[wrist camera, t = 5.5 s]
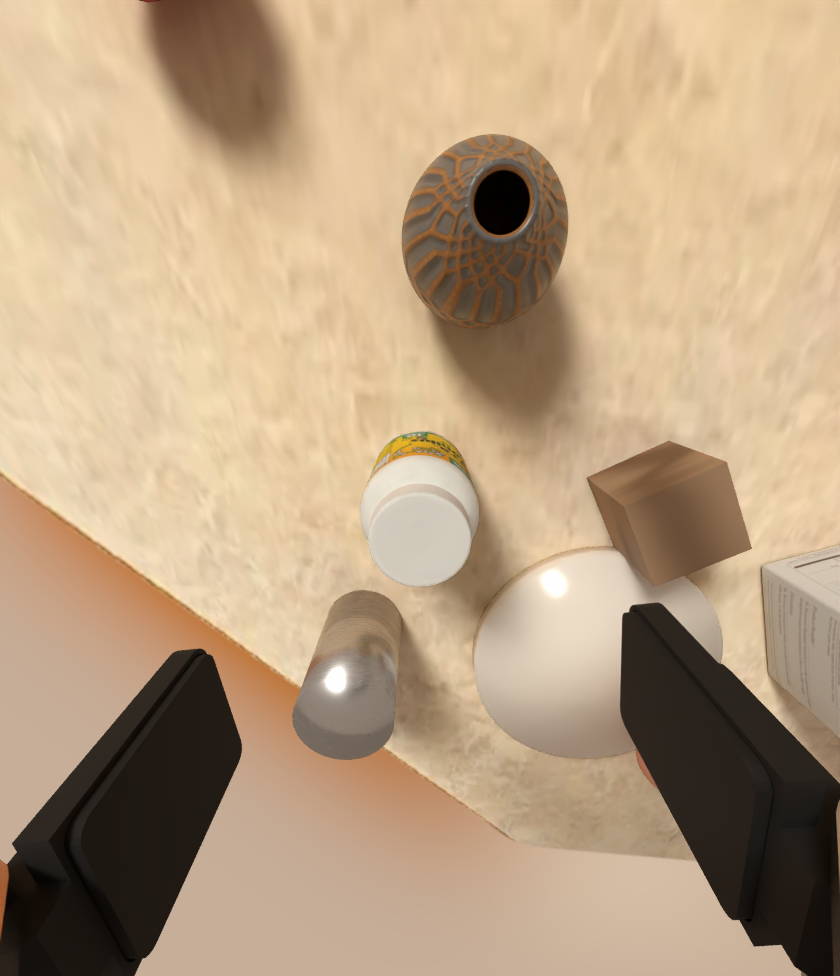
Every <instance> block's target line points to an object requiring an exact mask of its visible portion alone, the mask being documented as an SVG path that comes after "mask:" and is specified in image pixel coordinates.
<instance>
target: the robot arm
mask: <svg viewBox="0 0 840 976" xmlns="http://www.w3.org/2000/svg"><path fill="white" fill-rule="evenodd" d="M620 712H621V717H622V720H623V723H624V726H625V728H626V730H627V731H628V733H629V735H630V737H631V739H632V741H633V743H634V745H635V746H636V748H637V750H638V752H639V754H640V756H641V758H642V759H643V761H644V763H645V765H646V767H647V769H648V771H649V772H650V774H651V776H652V778H653V780H654V782H655V784H656V785H657V787H658V789H659V791H660V793H661V795H662V797H663V798H664V800H665V802H666V804H667V806H668V808H669V810H670V812H671V813H672V815H673V817H674V819H675V821H676V823H677V825H678V826H679V828H680V830H681V832H682V834H683V836H684V838H685V839H686V841H687V843H688V845H689V847H690V849H691V851H692V852H693V854H694V856H695V858H696V860H697V862H698V864H699V866H700V867H701V869H702V871H703V873H704V875H705V876H706V879H707V880H708V882H709V884H710V886H711V888H712V890H713V892H714V893H715V895H716V897H717V899H718V901H719V903H720V905H721V906H722V908H723V910H724V911H725V913H726V914H727V915H728V917H729V918H731V919H732V920H740V922H741V924H742V926H743V927H744V929H745V931H746V933H747V934H748V936H749V938H750V940H751V942H752V943H753V945H754V946H767V945H782V946H783V948H784V950H785V951H786V953H787V955H788V956H789V958H790V960H791V961H792V963H793V965H794V966H795V967H796V968H798V969H799V970H800V971H801V976H840V784H839V783H838V782H837V781H836V780H835V778H834V777H833V776H832V775H831V774H830V773H829V772H828V771H827V770H826V769H825V768H824V767H823V766H822V765H821V764H820V763H819V762H818V761H817V760H816V759H815V758H814V757H813V756H812V755H811V754H810V753H809V752H808V750H807V749H806V748H805V747H804V746H803V745H802V744H801V743H800V742H799V741H798V740H797V739H796V738H795V737H794V736H793V735H792V734H791V733H790V732H789V731H788V730H787V729H786V728H785V727H784V726H783V725H782V724H781V723H780V721H779V720H778V719H777V718H776V717H775V716H774V715H773V714H772V713H771V712H770V711H769V710H768V709H767V708H766V707H765V706H764V705H763V704H762V703H761V702H760V701H759V700H758V699H757V698H756V697H755V696H754V695H753V694H752V692H751V691H750V690H749V689H748V688H747V687H746V686H745V685H744V684H743V683H742V682H741V681H740V680H739V679H738V678H737V677H736V676H735V675H734V674H733V673H732V672H731V671H730V670H729V669H728V668H727V667H725V666H724V665H723V664H720V663H718V662H717V661H716V660H715V659H714V658H713V657H712V656H711V655H710V654H709V653H708V652H707V650H706V649H705V648H704V647H703V646H702V645H701V644H700V643H699V642H698V641H697V640H696V639H695V638H694V637H693V636H692V635H691V634H690V633H689V632H688V630H687V629H686V628H685V627H684V626H683V625H682V624H681V623H680V622H679V621H678V620H677V619H676V618H675V617H674V616H673V615H672V614H671V613H670V612H669V610H668V609H667V608H666V607H665V606H664V605H662V604H661V603H658V602H656V603H646V604H637V605H632V606H631V607H630V609H629V612H626V613H623V615H622V641H621V683H620ZM241 751H242V743H241V739H240V736H239V733H238V730H237V727H236V724H235V721H234V719H233V715H232V712H231V709H230V707H229V704H228V700H227V697H226V694H225V691H224V688H223V685H222V682H221V679H220V677H219V673H218V670H217V667H216V664H215V661H214V659H213V657H212V656H211V655H208V654H207V653H206V652H205V651H204V650H203V649H191V650H181V651H176V652H174V653H173V654H172V655H170V657H169V658H168V659H167V660H166V661H165V663H164V664H163V665H162V666H161V667H160V668H159V670H158V671H157V672H156V673H155V674H154V676H153V677H152V678H151V679H150V680H149V682H148V683H147V684H146V685H145V686H144V688H143V689H142V690H141V691H140V692H139V693H138V695H137V696H136V697H135V698H134V699H133V700H132V702H131V703H130V704H129V705H128V706H127V708H126V709H125V710H124V711H123V712H122V714H121V715H120V716H119V717H118V718H117V719H116V721H115V722H114V723H113V724H112V726H111V727H110V728H109V729H108V730H107V731H106V733H105V734H104V735H103V736H102V737H101V739H100V740H99V741H98V742H97V744H96V745H95V746H94V747H93V748H92V749H91V750H90V752H89V753H88V754H87V755H86V756H85V758H84V759H83V760H82V761H81V762H80V763H79V765H78V766H77V767H76V768H75V770H74V771H73V772H72V773H71V774H70V775H69V777H68V778H67V779H66V780H65V781H64V782H63V784H62V785H61V786H60V787H59V788H58V790H57V791H56V792H55V793H54V794H53V795H52V797H51V798H50V799H49V800H48V801H47V803H46V804H45V805H44V806H43V807H42V809H41V810H40V811H39V812H38V813H37V814H36V816H35V817H34V818H33V820H31V822H30V823H29V824H28V825H27V826H26V828H25V829H24V830H23V831H22V832H21V834H20V835H19V836H18V837H17V838H16V839H15V841H14V842H13V843H12V844H13V846H14V848H15V849H16V851H17V853H16V854H15V855H14V857H13V858H12V859H11V860H10V862H9V863H8V864H5V863H4V862H3V861H1V860H0V976H134V975H135V973H136V971H137V969H138V967H139V965H140V963H141V960H142V958H146V957H147V956H148V955H149V954H150V953H151V951H152V950H153V948H154V947H155V945H156V943H157V941H158V939H159V936H160V934H161V932H162V929H163V927H164V925H165V923H166V921H167V919H168V917H169V914H170V912H171V910H172V907H173V906H174V903H175V901H176V899H177V897H178V894H179V892H180V890H181V888H182V886H183V883H184V881H185V879H186V877H187V875H188V872H189V870H190V868H191V866H192V864H193V862H194V859H195V857H196V855H197V853H198V850H199V848H200V846H201V844H202V842H203V840H204V837H205V835H206V833H207V831H208V829H209V826H210V824H211V822H212V820H213V817H214V815H215V813H216V811H217V809H218V807H219V804H220V802H221V800H222V798H223V795H224V793H225V791H226V789H227V787H228V785H229V782H230V780H231V778H232V776H233V773H234V771H235V769H236V767H237V765H238V763H239V760H240V757H241Z"/></svg>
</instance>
